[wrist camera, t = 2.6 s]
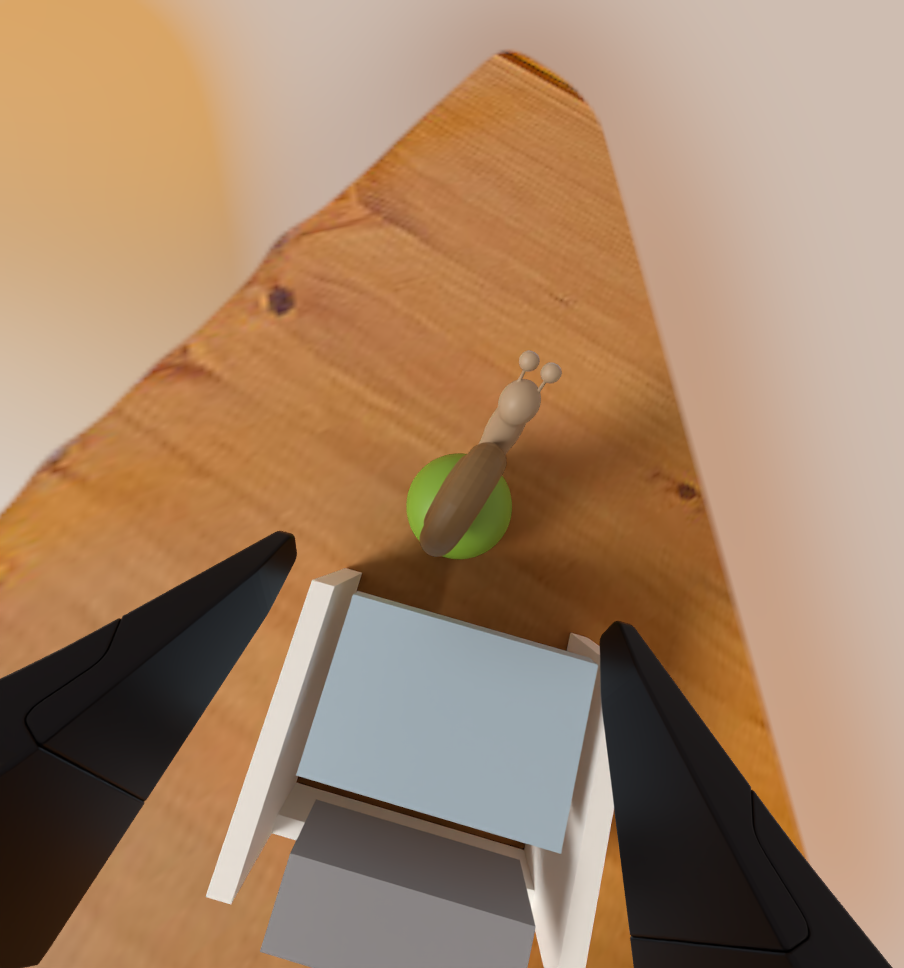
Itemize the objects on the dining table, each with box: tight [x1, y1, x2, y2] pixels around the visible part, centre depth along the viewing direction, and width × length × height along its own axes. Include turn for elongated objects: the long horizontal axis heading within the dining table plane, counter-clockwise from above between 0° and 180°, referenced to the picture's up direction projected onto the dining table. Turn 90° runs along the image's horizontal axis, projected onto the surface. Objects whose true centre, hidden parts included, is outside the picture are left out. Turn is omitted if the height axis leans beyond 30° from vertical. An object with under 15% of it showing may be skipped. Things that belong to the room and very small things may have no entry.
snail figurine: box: [407, 351, 562, 559], centre depth 14 cm, size 5×6×12 cm
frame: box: [206, 568, 614, 968], centre depth 16 cm, size 14×12×5 cm
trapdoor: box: [260, 591, 598, 968], centre depth 13 cm, size 11×12×2 cm
